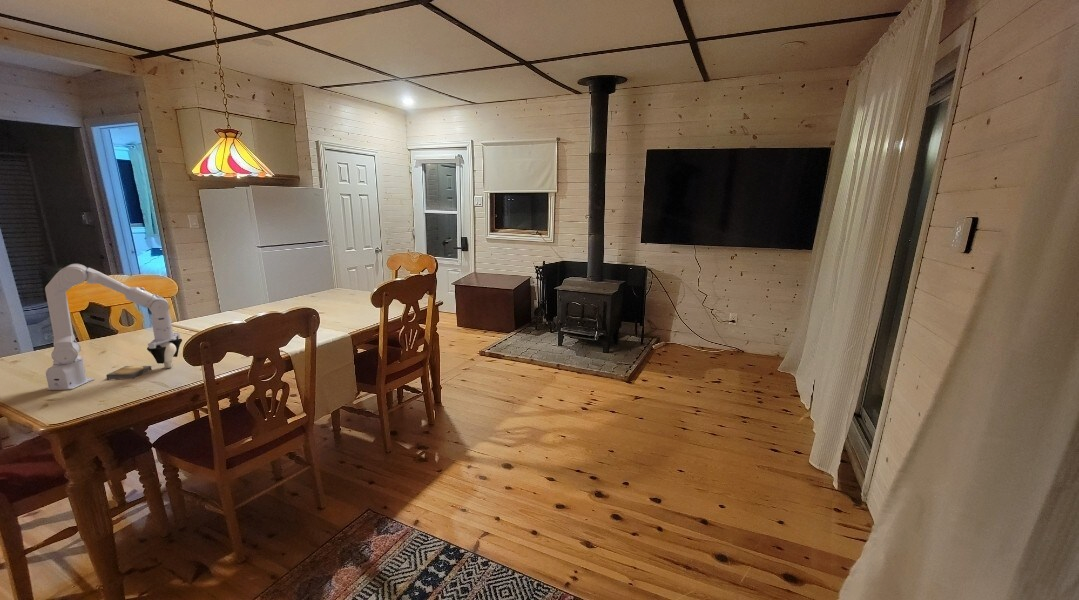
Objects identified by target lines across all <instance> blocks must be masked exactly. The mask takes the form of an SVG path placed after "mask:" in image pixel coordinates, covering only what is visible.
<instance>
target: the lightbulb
mask: <svg viewBox="0 0 1079 600" xmlns="http://www.w3.org/2000/svg"><path fill="white" fill-rule="evenodd" d="M160 346H161V347H166V349H165V353H164V358H165V361H164V363H163V368H165V369H171V368H173V366H174V364H173V363H174V362H173V360H174V357H173V356H174V354H175V352H176V346H175V345H174V344H173V343H171V342H165V343H164V344H162V345H160Z"/></svg>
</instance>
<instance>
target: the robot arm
mask: <svg viewBox="0 0 1079 600" xmlns="http://www.w3.org/2000/svg"><path fill="white" fill-rule="evenodd" d="M85 281H86V284H88V285H89V284H99V285H101V286H104V287H105V288H109V289H111V290H113V291H116V292H118V293H120V294H122V295H124V297H125V300H127V301H129V302H132V303H134V304H136V305H138V306H140V307H143V308H146V309H148V310H149V311H150V312H151V325H152V332H153V337H154V338H153V340H151V342H149V343H147V348H146V350H147V352H149V353H150V354H151V355H152V356H153V358H154V360H155V361H156V363H157V364H158V365H159V364H163V365H164V361H165V358H164V353H165V349H166V347H161V346H160V345H162V344H164V343H165V342H171V343H173V344H174V345H175V346H176V352H175V354H174V356H173V358H177V357H178V355H179V349H180V345H181V344H182V343H183V339H182V338H181V336H180V333H179V332H174V330H173V325H172V318H171V315H170V314H171V313H170V304H169V302H168V300H167V299H166V298H164V297H163V296H160V295H158V293H157V294H154V293H151V292H149V291H148V290H146V288H145V287H143V286H140V287H139V286H128V285H127V284H125V283H122V282H120V281H118V280H117V279H115V278H113V277H111V276H109V275H107V274H104V273H103V272H101V271H98V270H96V269H94V268H92V267H87V266H85V265H84V264H80V263H71V264H68V265H67V266H65V267H63V268H62V269H60V270H59V271H57V273H55V274H54V276H53V277H52V278H51V279H50V281H49V282H48V283H47V284H46V286H45V288H44V291H45V297H46V301H47V307H48V312H49V319H50V323H51V328H52V329H51V330H52V335H53V350H52V352H51V355H50V356H51V357H50V358H51V359H52V360H53V361H52V365H51V366H50V367H49V368H47V370H46V371H45V377H46V381H47V388H45V390H46V391H51V390H52V391H57V390H58V391H59V390H60V391H61V390H73V389H76V388H78V387H80V386H82V385H85V384H86V383H89V382H91V381H94V380H95V378H94V377H87V374H86V368H85V363H84V358H83V356H82V355H80V354H79V353H80V351H81V348H82V347H81V344H80V343H78V341H77V340H76V336H75V334H74V329H73V324H72V320H71V319H72V318H71V314H70V308H69V307H70V306H69V301H68V296H67V291H69V290H70V289H71V288H72V287H74V286H77V285H79V284H82V283H84V282H85Z"/></svg>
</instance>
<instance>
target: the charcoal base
mask: <svg viewBox="0 0 1079 600" xmlns="http://www.w3.org/2000/svg"><path fill="white" fill-rule="evenodd" d="M150 371H152V365H125V366H123V367H120V368H119V369H116V370H114V371H111V372H109V373H107V374H106V375H105V376H106V379H107V380H130V379H131V380H135V379H136V378H139V377H140V376H142V375H145V374H147V373H149V372H150Z"/></svg>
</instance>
